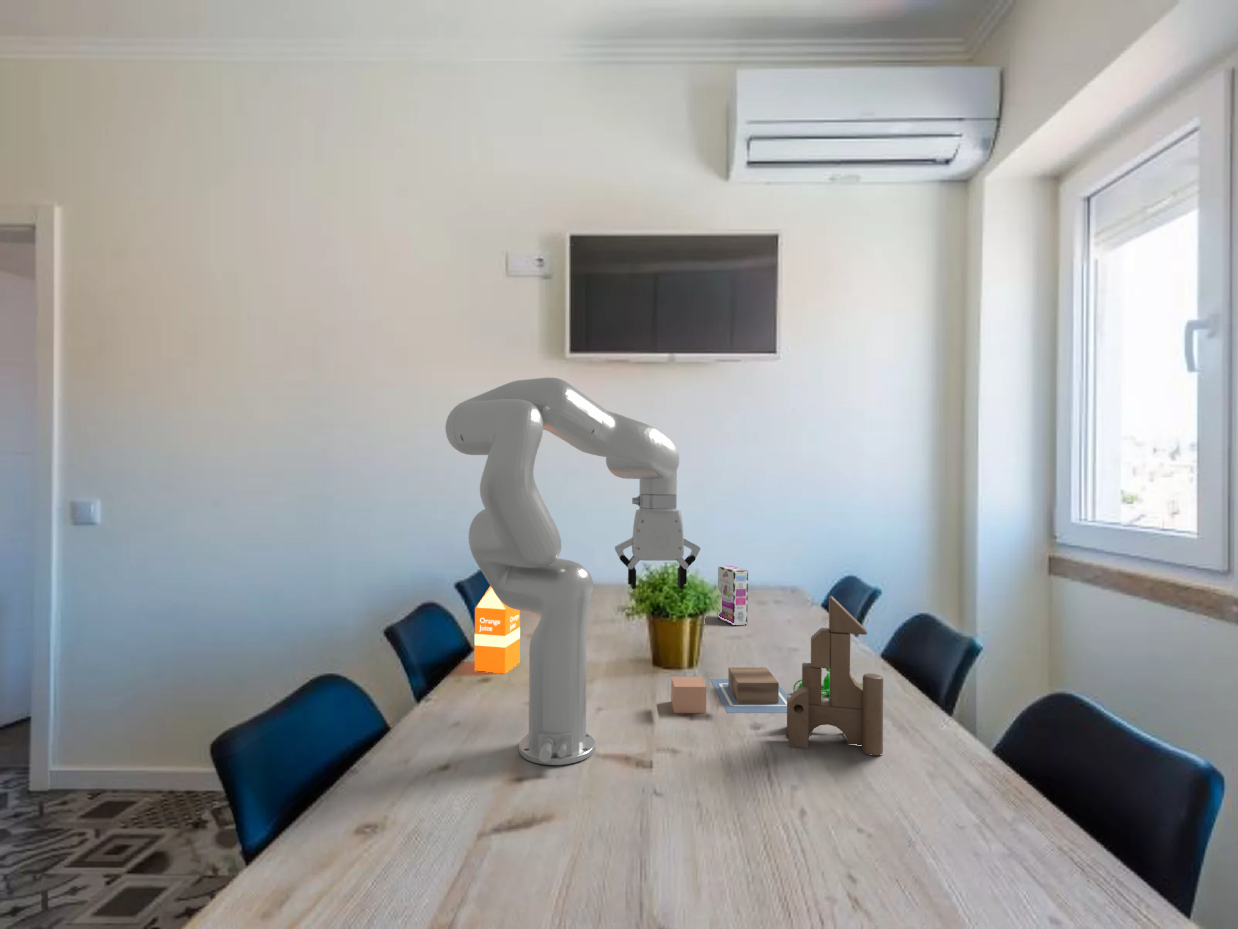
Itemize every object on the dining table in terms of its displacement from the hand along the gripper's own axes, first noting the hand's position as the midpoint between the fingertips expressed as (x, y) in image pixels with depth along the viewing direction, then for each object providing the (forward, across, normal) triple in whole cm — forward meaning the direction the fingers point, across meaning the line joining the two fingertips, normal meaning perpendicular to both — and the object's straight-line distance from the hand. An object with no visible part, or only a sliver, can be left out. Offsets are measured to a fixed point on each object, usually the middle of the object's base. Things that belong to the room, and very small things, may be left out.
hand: (657, 588), depth 137 cm
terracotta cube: (+23, +5, -7) cm, 24 cm away
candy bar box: (+23, +32, +67) cm, 77 cm away
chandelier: (+23, +36, -2) cm, 42 cm away
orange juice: (+23, -34, +24) cm, 48 cm away
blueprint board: (+23, +20, -1) cm, 30 cm away
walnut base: (+22, +20, -1) cm, 29 cm away
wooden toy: (+23, +28, -23) cm, 43 cm away
